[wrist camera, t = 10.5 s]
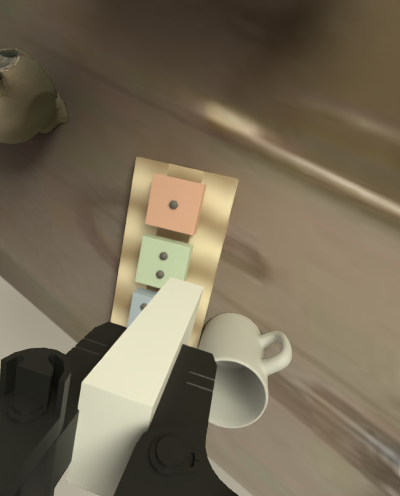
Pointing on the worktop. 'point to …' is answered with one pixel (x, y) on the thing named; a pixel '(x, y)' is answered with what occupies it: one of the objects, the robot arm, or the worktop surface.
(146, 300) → the blue tile
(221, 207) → the board
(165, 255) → the sage tile
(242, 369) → the mug
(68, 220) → the worktop surface
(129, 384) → the robot arm
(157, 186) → the terracotta tile
